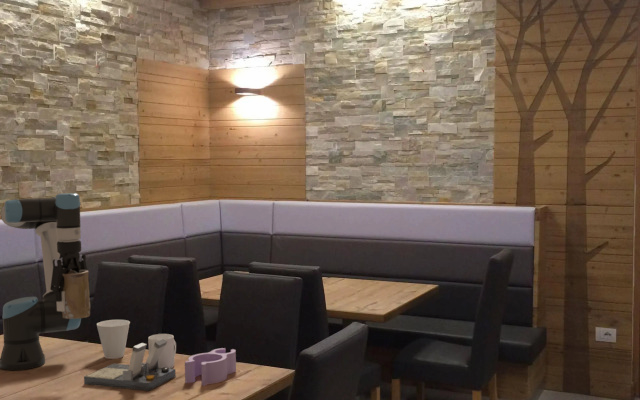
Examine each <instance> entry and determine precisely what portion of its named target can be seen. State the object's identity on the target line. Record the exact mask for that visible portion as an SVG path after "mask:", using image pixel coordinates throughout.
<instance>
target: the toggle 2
mask: <svg viewBox="0 0 640 400" xmlns="http://www.w3.org/2000/svg"><path fill="white" fill-rule="evenodd" d="M166 343H167V341H166V340H164V339H162V340H160V341H158V342H155V344H154V346H153V348H152V350H151V352H150V354H149V353H148V356H147V358H146V360H145V362H144V363H148V365H149V369H151V368H153V367H155V366H156V363H157V361H158V359H159V357H160V355H161V353H162V351H163V349H164V347H165V345H166Z"/></svg>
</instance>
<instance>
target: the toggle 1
mask: <svg viewBox="0 0 640 400" xmlns="http://www.w3.org/2000/svg"><path fill="white" fill-rule="evenodd" d="M146 349H147V343H144V342H141V343H138V344H136V345H134V346H133V347H132V352H131V356H130V361H129V364H128V365H129V369H128V370H130V371H133V377H135V376H137V375H139V374H140V373H141V367H142V363H144V359H145V358H144V357H145V353H146Z"/></svg>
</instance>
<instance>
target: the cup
mask: <svg viewBox="0 0 640 400" xmlns="http://www.w3.org/2000/svg"><path fill="white" fill-rule="evenodd" d="M130 324H131V321H129V320H128V319H127V320H126V319H109V320H108V319H107V320H102V321H100V322H97V323H96V327H97V331H98V335H99V339H100V344H101V348H102V352H103V357H104V358H105V359H108V360H113V359H114V360H115V359H121V358H123V357H124V356H125V351H126V346H127V339H128V335H129V334H128V333H129V328H130Z"/></svg>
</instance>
